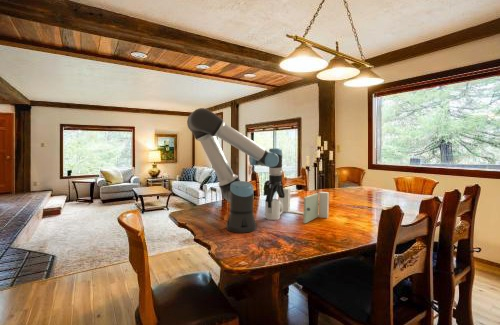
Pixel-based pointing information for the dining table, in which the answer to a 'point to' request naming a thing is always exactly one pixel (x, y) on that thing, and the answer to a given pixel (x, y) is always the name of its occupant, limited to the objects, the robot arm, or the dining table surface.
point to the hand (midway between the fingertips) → (275, 210)
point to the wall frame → (286, 208)
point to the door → (310, 207)
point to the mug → (276, 210)
